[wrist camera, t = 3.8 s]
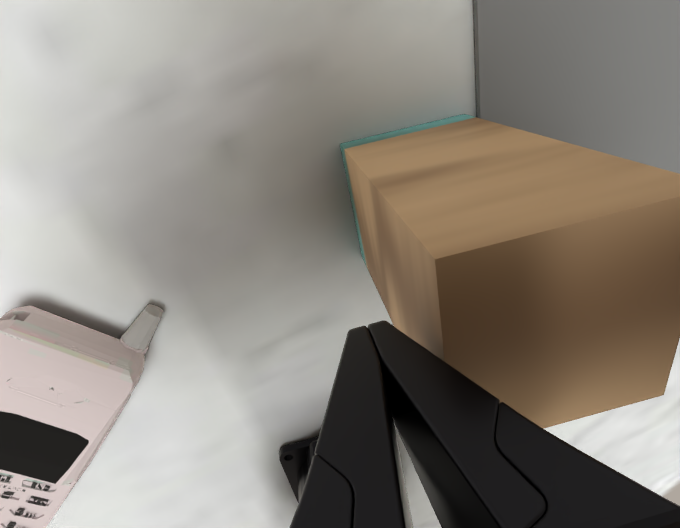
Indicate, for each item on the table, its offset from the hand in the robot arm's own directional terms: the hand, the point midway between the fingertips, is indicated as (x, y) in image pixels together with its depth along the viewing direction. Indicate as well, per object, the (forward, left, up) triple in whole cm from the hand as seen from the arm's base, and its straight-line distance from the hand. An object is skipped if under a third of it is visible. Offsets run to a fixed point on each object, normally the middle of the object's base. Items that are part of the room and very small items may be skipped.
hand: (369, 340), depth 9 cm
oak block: (0, -4, -9) cm, 9 cm away
